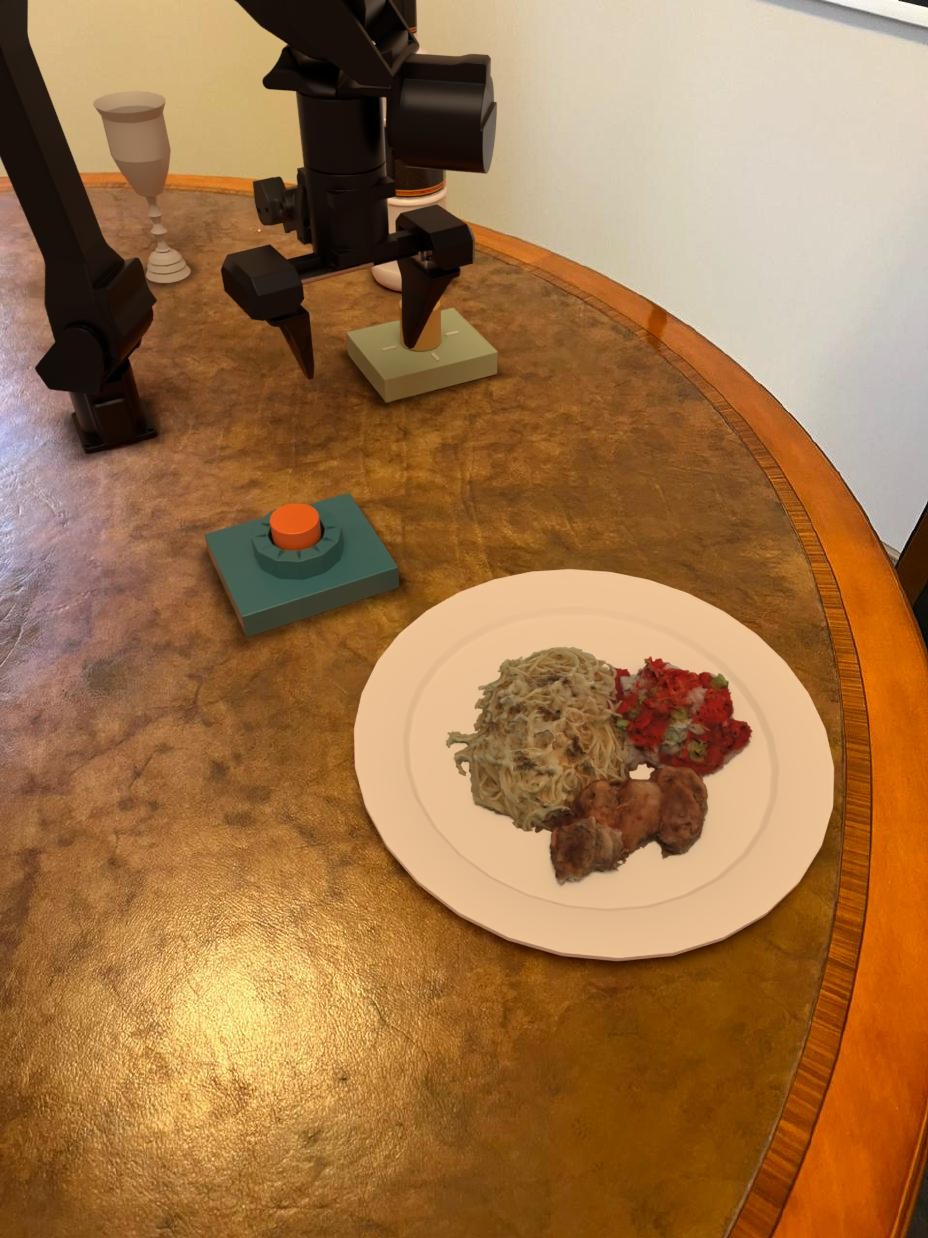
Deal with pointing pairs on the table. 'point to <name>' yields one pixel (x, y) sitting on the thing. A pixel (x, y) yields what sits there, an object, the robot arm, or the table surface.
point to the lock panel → (421, 358)
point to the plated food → (593, 764)
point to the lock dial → (426, 330)
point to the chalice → (143, 165)
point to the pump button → (295, 526)
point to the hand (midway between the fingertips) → (360, 361)
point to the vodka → (408, 175)
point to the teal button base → (301, 567)
